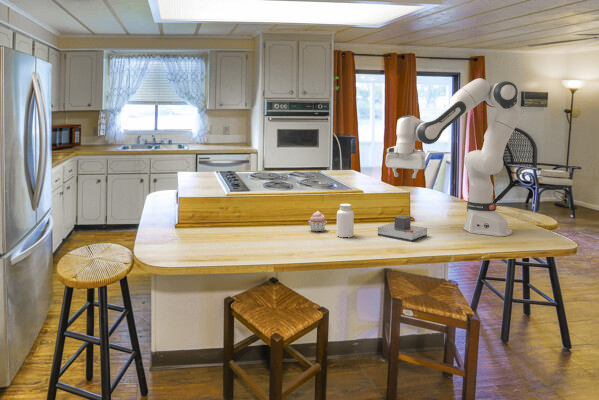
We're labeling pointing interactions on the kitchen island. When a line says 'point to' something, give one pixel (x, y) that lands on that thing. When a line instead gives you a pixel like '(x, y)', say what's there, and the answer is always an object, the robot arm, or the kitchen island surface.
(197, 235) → the kitchen island surface
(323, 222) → the cupcake
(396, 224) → the plug
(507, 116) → the robot arm
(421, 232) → the socket
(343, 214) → the pill bottle
